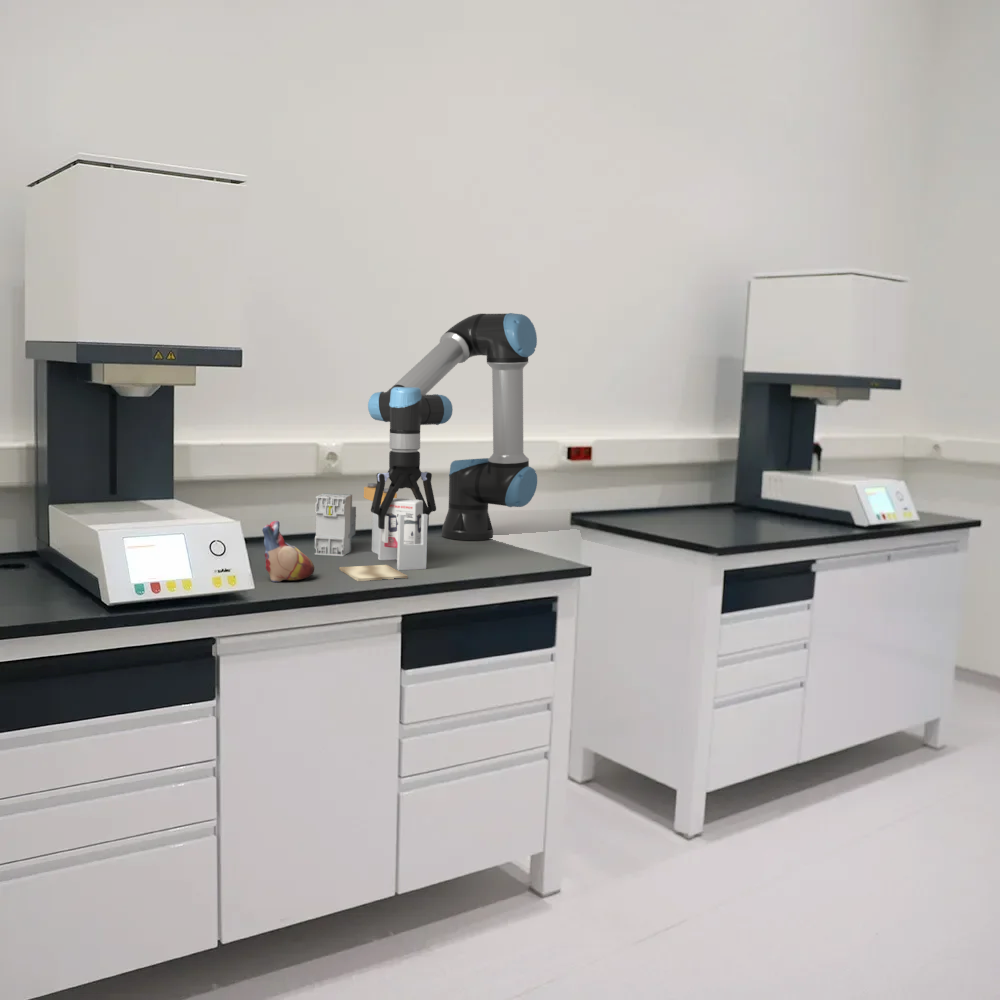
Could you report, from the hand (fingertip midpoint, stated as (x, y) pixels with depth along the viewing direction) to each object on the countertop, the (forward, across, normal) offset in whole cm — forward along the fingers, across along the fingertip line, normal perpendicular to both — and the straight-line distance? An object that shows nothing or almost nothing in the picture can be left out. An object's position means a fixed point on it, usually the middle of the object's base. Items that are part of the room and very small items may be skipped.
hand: (403, 540), depth 248 cm
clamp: (+6, 0, -5) cm, 8 cm away
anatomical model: (+5, +32, +11) cm, 34 cm away
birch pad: (+5, +12, +10) cm, 16 cm away
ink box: (+2, 0, 0) cm, 2 cm away
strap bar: (-8, 0, -17) cm, 18 cm away
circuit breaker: (+6, +10, -22) cm, 25 cm away
